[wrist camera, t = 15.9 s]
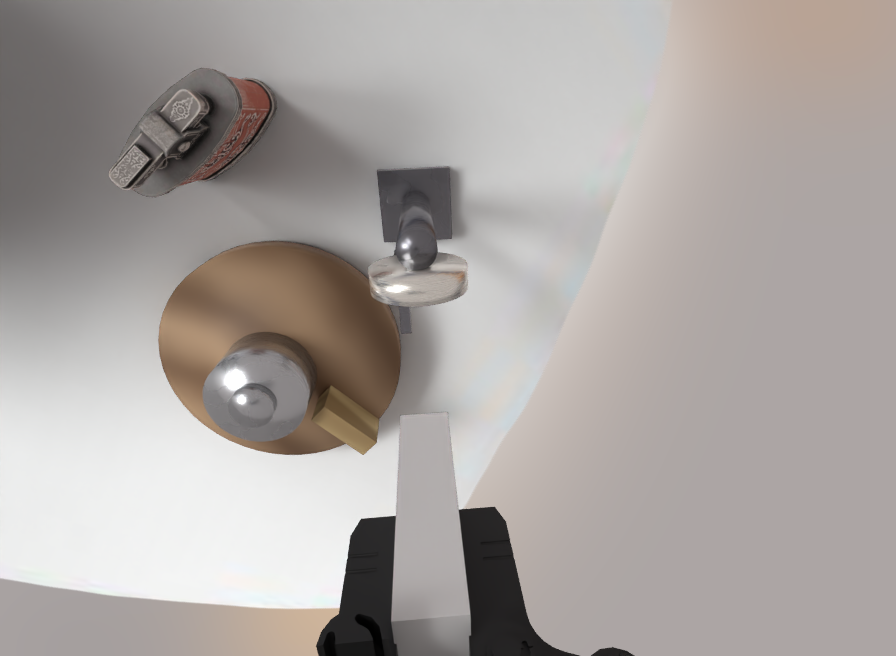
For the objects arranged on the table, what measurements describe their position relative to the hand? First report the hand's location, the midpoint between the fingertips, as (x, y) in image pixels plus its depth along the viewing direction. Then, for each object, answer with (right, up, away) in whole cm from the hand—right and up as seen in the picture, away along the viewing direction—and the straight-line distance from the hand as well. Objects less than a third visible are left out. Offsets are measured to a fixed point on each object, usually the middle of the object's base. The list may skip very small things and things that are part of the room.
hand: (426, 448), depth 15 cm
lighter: (-14, +17, +16) cm, 27 cm away
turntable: (-12, +2, +23) cm, 26 cm away
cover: (-13, 0, +21) cm, 25 cm away
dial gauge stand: (-2, +11, +19) cm, 23 cm away
